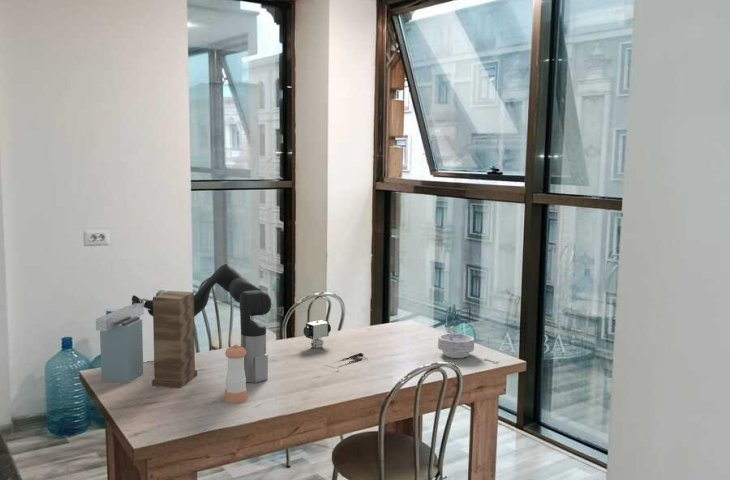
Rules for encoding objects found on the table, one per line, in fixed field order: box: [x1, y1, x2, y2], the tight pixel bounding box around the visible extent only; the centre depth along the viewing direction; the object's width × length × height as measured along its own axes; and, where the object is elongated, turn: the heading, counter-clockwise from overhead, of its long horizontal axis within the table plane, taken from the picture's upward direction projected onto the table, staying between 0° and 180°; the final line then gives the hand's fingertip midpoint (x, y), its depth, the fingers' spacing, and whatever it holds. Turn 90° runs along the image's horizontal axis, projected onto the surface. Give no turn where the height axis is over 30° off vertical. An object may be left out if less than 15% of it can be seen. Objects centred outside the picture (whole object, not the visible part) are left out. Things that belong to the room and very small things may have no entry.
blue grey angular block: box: [99, 316, 144, 384], centre depth 244 cm, size 10×11×22 cm
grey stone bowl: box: [437, 333, 475, 359], centre depth 281 cm, size 15×15×8 cm
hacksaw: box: [343, 352, 367, 364], centre depth 268 cm, size 24×10×2 cm, turn 134°
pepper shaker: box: [224, 344, 248, 404], centre depth 224 cm, size 7×7×19 cm
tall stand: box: [151, 290, 198, 389], centre depth 241 cm, size 14×11×32 cm
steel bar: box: [95, 303, 145, 332], centre depth 243 cm, size 26×4×4 cm, turn 170°
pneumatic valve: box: [303, 319, 332, 349], centre depth 289 cm, size 6×12×12 cm, turn 130°
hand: (143, 298), depth 258 cm, fingers open, 8 cm apart
